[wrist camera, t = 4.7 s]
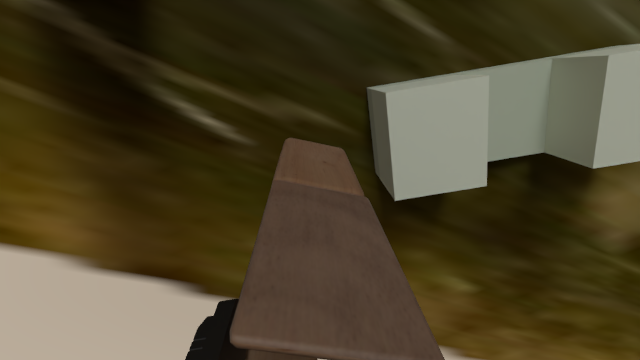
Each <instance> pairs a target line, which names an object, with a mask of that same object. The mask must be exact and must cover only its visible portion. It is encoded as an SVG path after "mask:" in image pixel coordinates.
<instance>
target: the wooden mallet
mask: <svg viewBox="0 0 640 360" xmlns="http://www.w3.org/2000/svg"><path fill="white" fill-rule="evenodd" d="M230 343H231V344H233V345H234V346H235V347H236V348H241V349H247V352H246V357H245V360H317V358H319V359H327V360H445V359H444V357H443V355H442V353H441V351H440V349H439V347H438V344H437V342H436V340H435V338H434V336H433V334H432V332H431V330H430V328H429V325H428V323H427V321H426V319H425V317H424V315H423V313H422V311H421V309H420V307H419V304H418V302H417V300H416V298H415V296H414V294H413V292H412V290H411V288H410V285H409V283H408V281H407V279H406V277H405V275H404V273H403V271H402V269H401V266H400V264H399V262H398V260H397V258H396V256H395V254H394V252H393V250H392V247H391V245H390V243H389V241H388V239H387V237H386V235H385V233H384V231H383V229H382V226H381V224H380V222H379V220H378V218H377V216H376V214H375V212H374V210H373V207H372V205H371V203H370V201H369V199H368V198H366V197H364V193H363V191H362V188H361V186H360V184H359V182H358V180H357V177H356V175H355V173H354V171H353V169H352V167H351V164H350V162H349V160H348V158H347V156H346V154H345V151H344V150H342V149H341V148H337V147H333V146H328V145H323V144H318V143H313V142H309V141H304V140H299V139H294V138H288V139H286V140H285V142H284V144H283V148H282V151H281V155H280V158H279V161H278V165H277V168H276V172H275V175H274V178H273V182H272V187H271V190H270V193H269V197H268V200H267V204H266V207H265V211H264V214H263V218H262V221H261V225H260V228H259V231H258V235H257V238H256V242H255V245H254V249H253V252H252V256H251V259H250V263H249V266H248V269H247V273H246V276H245V280H244V283H243V287H242V290H241V294H240V297H239V301H238V304H237V307H236V311H235V314H234V318H233V321H232V325H231V328H230Z"/></svg>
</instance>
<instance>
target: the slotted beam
mask: <svg viewBox="0 0 640 360" xmlns="http://www.w3.org/2000/svg"><path fill="white" fill-rule="evenodd" d="M367 96H368V105H369V115H370V124H371V134H372V143H373V153H374V163H375V172H376V174H377V175H378V177H379V178H380V180H381V181H382V183H383V184H384V186H385V187H386V189H387V190H388V191H389V193H390V194H391V196H392V197H393V199H394V200H395V201H397V200H403V199H409V198H415V197H422V196H428V195H434V194H440V193H446V192H452V191H458V190H465V189H471V188H477V187H483V186H487V162H489V161H495V160H501V159H507V158H513V157H519V156H525V155H531V154H538V153H544V152H545V153H548V154H551V155H554V156H557V157H560V158H563V159H566V160H569V161H572V162H575V163H577V164H580V165H583V166H586V167H589V168H592V169H594V168H600V167H606V166H612V165H618V164H624V163H630V162H636V161H640V44H633V45H621V46H612V47H606V48H600V49H594V50H588V51H583V52H577V53H571V54H565V55H559V56H553V57H547V58H541V59H535V60H529V61H523V62H517V63H511V64H505V65H499V66H494V67H488V68H482V69H476V70H470V71H464V72H458V73H452V74H446V75H440V76H434V77H428V78H422V79H416V80H410V81H405V82H399V83H393V84H387V85H381V86H375V87H369V88H367Z"/></svg>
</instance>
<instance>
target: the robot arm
mask: <svg viewBox="0 0 640 360" xmlns="http://www.w3.org/2000/svg"><path fill="white" fill-rule="evenodd" d="M238 301H239V299H232V300H226V301H220V302H219V303H218V305H217V308H216V311H215V314H214V316H209V317H207V318H206V319H205V320H204V322H203V323H202V324H201V325H200V326H199V327H198V329H197V332H196V334H195V337H194V341H193V342H192V344H191V347H190V351H189V352H188V354H187V356H186V359H185V360H245V357H246V352H247V349H241V348H236V347H235V346H234V345H233V344H231V343H230V328H231V325H232V321H233V318H234V314H235V311H236V307H237V304H238Z"/></svg>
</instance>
